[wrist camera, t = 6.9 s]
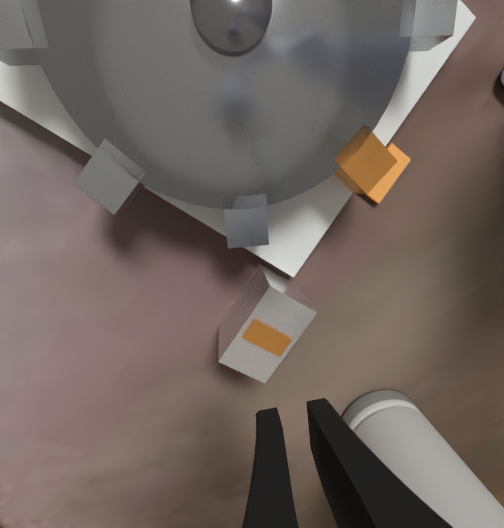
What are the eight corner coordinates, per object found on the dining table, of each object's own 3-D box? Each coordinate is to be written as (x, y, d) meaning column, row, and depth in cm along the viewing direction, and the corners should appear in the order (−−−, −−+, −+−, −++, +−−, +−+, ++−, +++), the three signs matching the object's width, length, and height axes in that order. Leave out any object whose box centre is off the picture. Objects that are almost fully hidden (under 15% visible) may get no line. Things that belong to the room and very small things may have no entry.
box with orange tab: (297, 284, 18) (318, 314, 14) (256, 342, 19) (265, 385, 15) (259, 262, 17) (270, 287, 13) (218, 324, 18) (218, 363, 14)
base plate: (483, 54, 15) (515, 40, 14) (315, 287, 18) (324, 298, 17) (93, -370, 10) (67, -479, 8) (-55, 63, 13) (-95, 46, 11)
